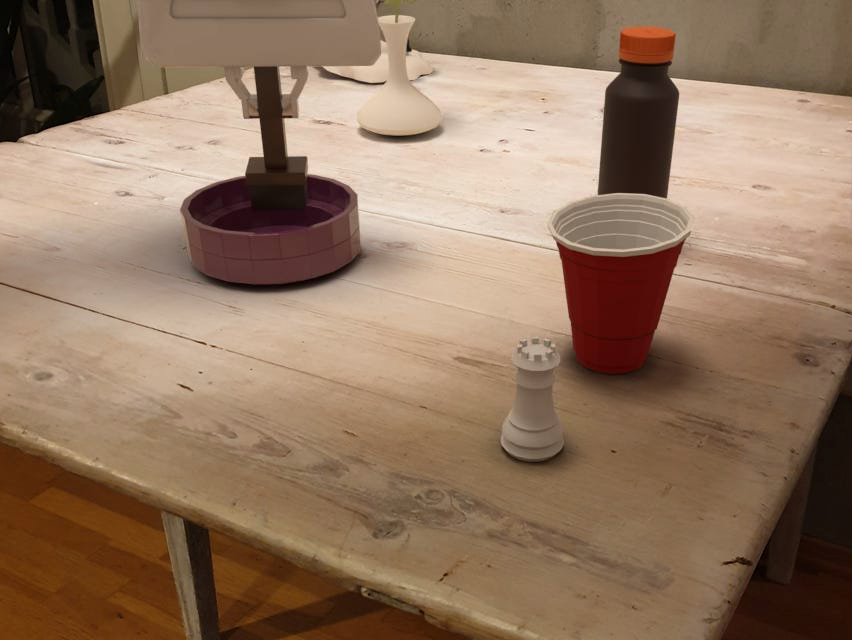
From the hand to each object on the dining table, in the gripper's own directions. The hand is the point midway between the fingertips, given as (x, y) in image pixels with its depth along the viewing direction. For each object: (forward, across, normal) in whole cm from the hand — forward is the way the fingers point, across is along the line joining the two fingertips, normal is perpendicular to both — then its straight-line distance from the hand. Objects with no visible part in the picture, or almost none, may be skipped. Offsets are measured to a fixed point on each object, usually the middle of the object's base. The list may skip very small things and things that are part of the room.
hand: (271, 117), depth 87 cm
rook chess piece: (+13, -19, +35) cm, 42 cm away
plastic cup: (+13, -27, +23) cm, 38 cm away
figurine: (+13, -9, -74) cm, 76 cm away
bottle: (+13, -34, 0) cm, 37 cm away
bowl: (+13, +1, 0) cm, 13 cm away
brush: (+8, 0, 0) cm, 8 cm away
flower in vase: (+13, -13, -41) cm, 45 cm away
